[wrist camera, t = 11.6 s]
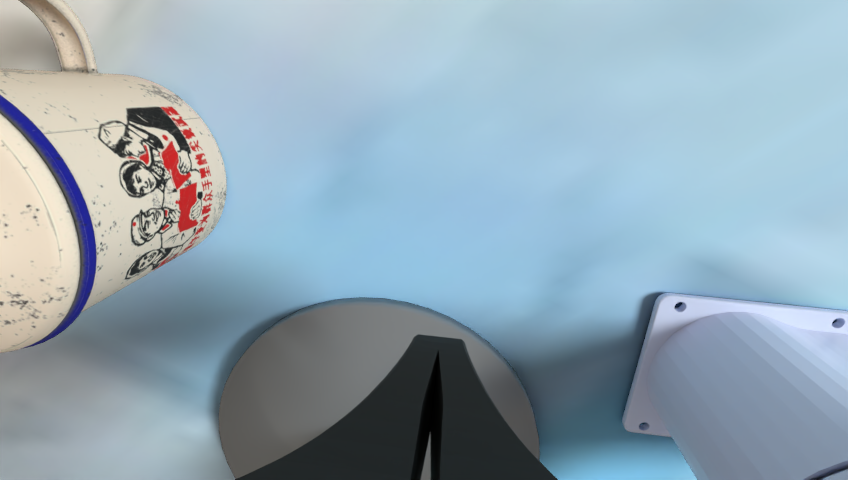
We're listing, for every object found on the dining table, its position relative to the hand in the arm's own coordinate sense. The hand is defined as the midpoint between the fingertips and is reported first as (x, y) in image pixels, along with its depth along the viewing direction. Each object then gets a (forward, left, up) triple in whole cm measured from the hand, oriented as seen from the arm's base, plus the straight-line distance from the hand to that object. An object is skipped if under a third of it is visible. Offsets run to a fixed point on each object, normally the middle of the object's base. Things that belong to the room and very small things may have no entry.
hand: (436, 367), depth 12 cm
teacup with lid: (+15, -4, -10) cm, 18 cm away
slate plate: (+3, +12, -9) cm, 16 cm away
